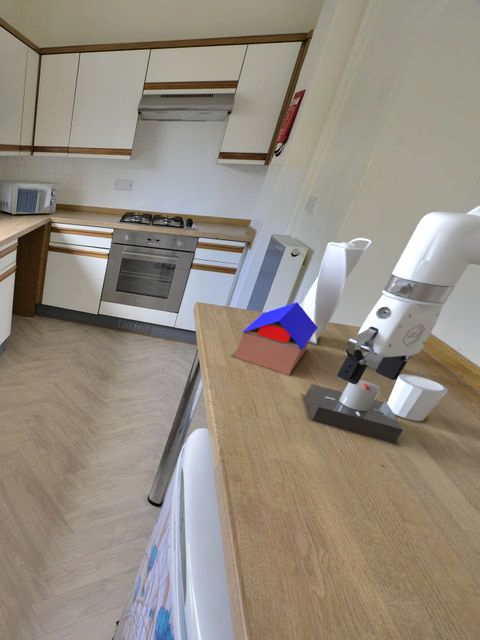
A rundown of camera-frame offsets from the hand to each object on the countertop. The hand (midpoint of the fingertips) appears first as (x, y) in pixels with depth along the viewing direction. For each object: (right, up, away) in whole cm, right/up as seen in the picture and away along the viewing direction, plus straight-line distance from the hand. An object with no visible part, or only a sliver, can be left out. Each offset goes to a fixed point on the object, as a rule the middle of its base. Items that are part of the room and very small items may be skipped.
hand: (366, 378), depth 75 cm
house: (+3, +4, +28) cm, 29 cm away
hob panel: (0, -8, +4) cm, 9 cm away
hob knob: (0, -5, +2) cm, 6 cm away
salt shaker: (+26, +1, +25) cm, 36 cm away
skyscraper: (+20, +8, +38) cm, 44 cm away
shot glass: (+14, -8, +7) cm, 17 cm away
